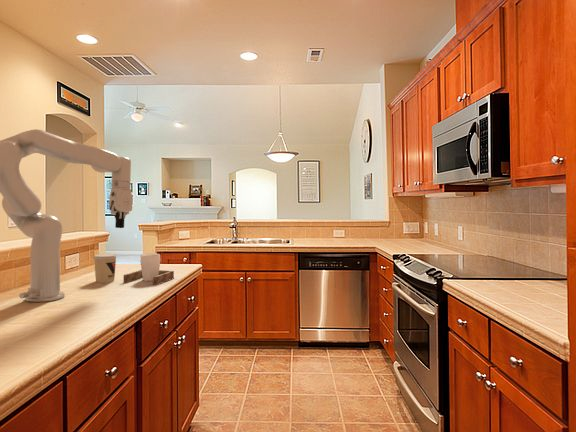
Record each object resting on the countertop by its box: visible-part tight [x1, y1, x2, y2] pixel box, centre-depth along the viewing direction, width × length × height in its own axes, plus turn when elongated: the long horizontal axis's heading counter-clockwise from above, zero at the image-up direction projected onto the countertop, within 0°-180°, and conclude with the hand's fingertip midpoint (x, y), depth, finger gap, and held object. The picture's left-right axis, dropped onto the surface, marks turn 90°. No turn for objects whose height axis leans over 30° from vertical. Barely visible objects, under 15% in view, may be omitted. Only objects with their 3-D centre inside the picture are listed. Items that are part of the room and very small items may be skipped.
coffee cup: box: [93, 253, 117, 284], centre depth 183 cm, size 9×9×12 cm
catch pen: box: [123, 269, 175, 286], centre depth 187 cm, size 16×16×4 cm
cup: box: [139, 252, 162, 282], centre depth 188 cm, size 9×9×12 cm
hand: (119, 227), depth 173 cm, fingers closed
